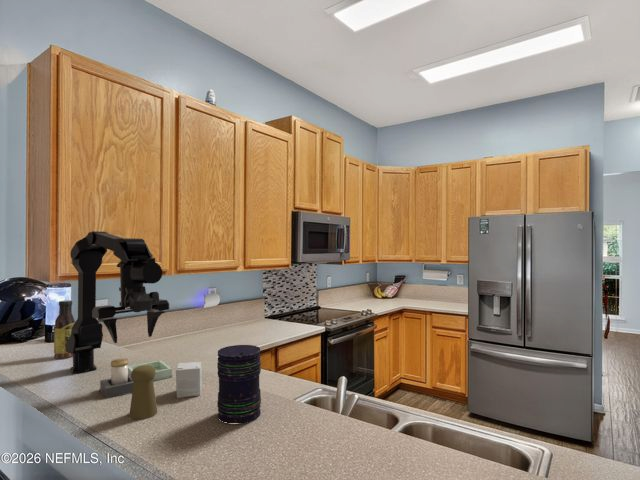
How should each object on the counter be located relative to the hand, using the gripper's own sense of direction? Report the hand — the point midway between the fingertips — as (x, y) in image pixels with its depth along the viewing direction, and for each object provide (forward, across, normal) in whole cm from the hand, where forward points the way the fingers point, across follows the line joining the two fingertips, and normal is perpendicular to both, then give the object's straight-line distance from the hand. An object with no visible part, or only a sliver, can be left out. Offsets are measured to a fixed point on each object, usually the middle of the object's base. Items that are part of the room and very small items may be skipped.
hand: (133, 339), depth 107 cm
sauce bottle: (+11, -4, +50) cm, 52 cm away
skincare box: (+14, +9, -14) cm, 22 cm away
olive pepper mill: (+14, -5, -18) cm, 24 cm away
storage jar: (+15, +10, -36) cm, 40 cm away
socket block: (+13, -3, +2) cm, 14 cm away
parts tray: (+13, +7, +7) cm, 16 cm away
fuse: (+13, -3, +2) cm, 14 cm away
